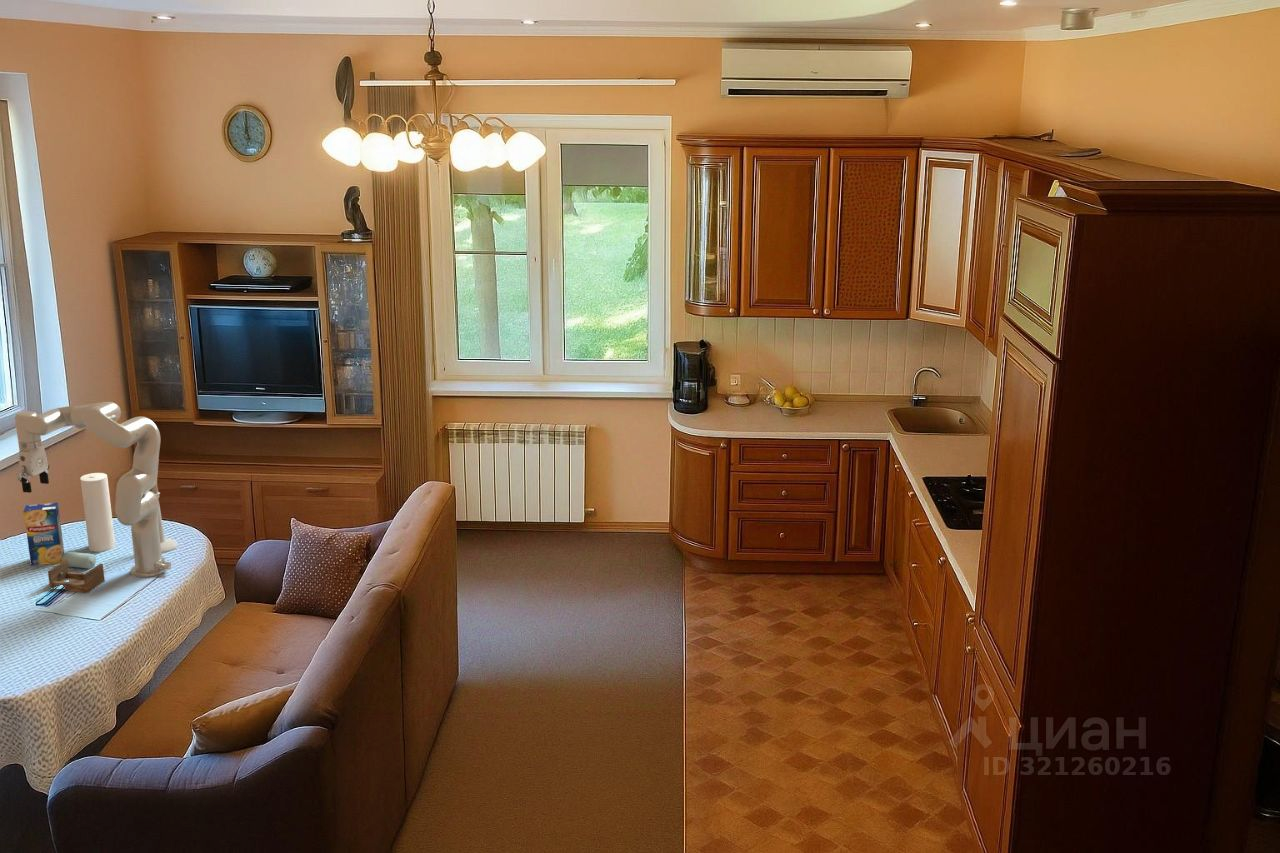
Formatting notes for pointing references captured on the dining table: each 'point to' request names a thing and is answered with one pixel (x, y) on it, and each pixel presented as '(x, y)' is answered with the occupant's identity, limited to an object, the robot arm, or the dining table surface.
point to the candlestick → (165, 542)
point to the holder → (75, 578)
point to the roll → (79, 559)
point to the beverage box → (44, 533)
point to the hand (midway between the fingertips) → (36, 487)
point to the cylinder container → (97, 512)
